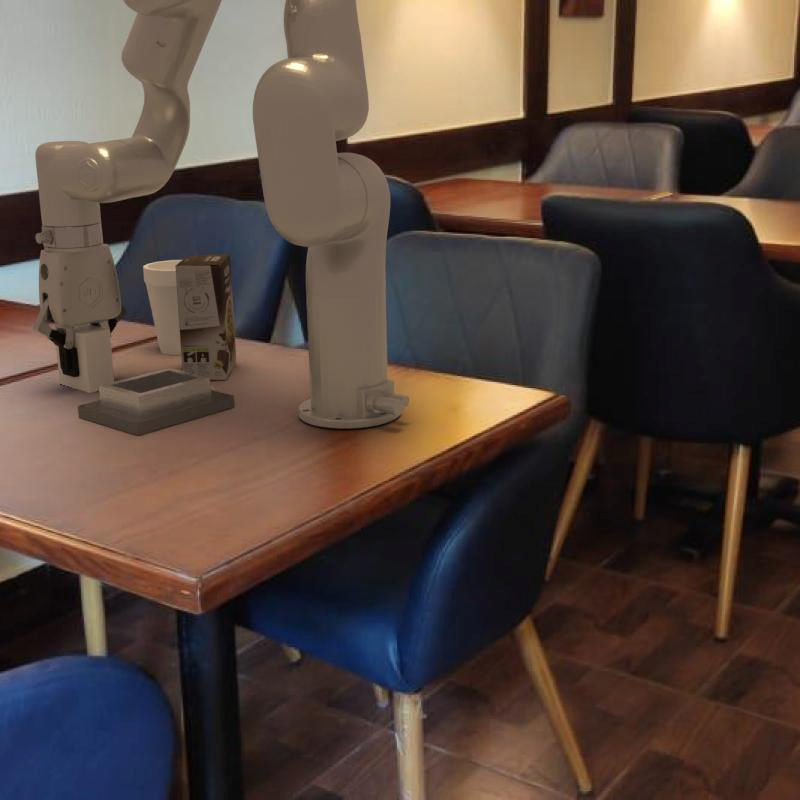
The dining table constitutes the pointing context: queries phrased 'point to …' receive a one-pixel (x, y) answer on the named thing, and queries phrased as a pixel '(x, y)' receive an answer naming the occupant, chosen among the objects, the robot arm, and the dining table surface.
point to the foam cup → (164, 304)
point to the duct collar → (155, 401)
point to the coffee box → (206, 315)
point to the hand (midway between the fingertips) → (85, 370)
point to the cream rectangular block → (90, 359)
